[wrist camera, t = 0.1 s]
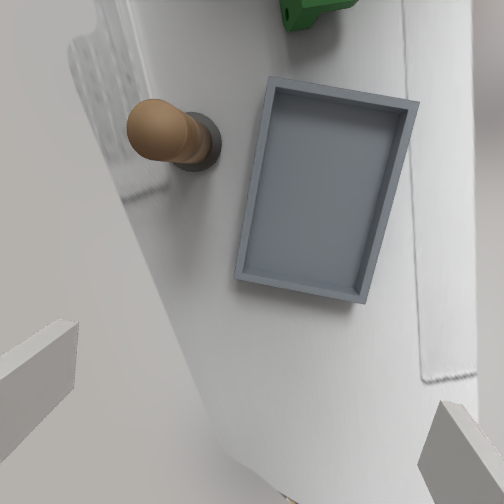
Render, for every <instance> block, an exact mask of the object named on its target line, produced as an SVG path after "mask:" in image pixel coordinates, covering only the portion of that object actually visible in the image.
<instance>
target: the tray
mask: <svg viewBox="0 0 504 504" xmlns="http://www.w3.org/2000/svg"><path fill="white" fill-rule="evenodd" d="M419 103H420V102H418V101H412V100H406V99H400V98H395V97H389V96H383V95H377V94H371V93H366V92H360V91H354V90H348V89H342V88H336V87H331V86H325V85H319V84H313V83H307V82H302V81H296V80H290V79H284V78H278V77H273V76H269V78H268V83H267V89H266V95H265V101H264V106H263V112H262V118H261V124H260V129H259V135H258V141H257V147H256V152H255V158H254V164H253V170H252V175H251V181H250V187H249V192H248V198H247V204H246V210H245V215H244V221H243V227H242V233H241V238H240V244H239V250H238V256H237V261H236V267H235V273H234V279H238V280H243V281H248V282H253V283H258V284H263V285H269V286H274V287H279V288H284V289H289V290H294V291H299V292H304V293H309V294H314V295H319V296H324V297H329V298H334V299H339V300H345V301H350V302H355V303H360V304H365V303H366V300H367V296H368V292H369V289H370V285H371V281H372V278H373V274H374V270H375V266H376V263H377V259H378V255H379V252H380V248H381V244H382V240H383V237H384V233H385V229H386V226H387V222H388V218H389V215H390V211H391V207H392V203H393V200H394V196H395V192H396V189H397V185H398V181H399V177H400V174H401V170H402V166H403V163H404V159H405V155H406V152H407V148H408V144H409V140H410V137H411V133H412V129H413V126H414V122H415V118H416V115H417V111H418V107H419Z"/></svg>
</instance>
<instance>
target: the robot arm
mask: <svg viewBox="0 0 504 504" xmlns="http://www.w3.org/2000/svg"><path fill="white" fill-rule="evenodd" d="M78 327H79V322H75V321H70V320H65V319H61V318H58V319H57V320H55V321H54V322H52V323H50V324H49V325H47V326H46V327H44V328H43V329H41V330H40V331H38V332H37V333H35V334H34V335H32V336H30V337H29V338H27V339H26V340H25V341H23V342H21V343H20V344H18V345H17V346H15V347H14V348H12V349H11V350H9V351H8V352H6V353H4V354H3V355H1V356H0V464H1V463H2V462H3V461H4V460H5V459H6V457H7V456H8V455H9V454H10V453H11V452H12V451H13V450H14V449H15V448H16V447H17V446H18V445H19V444H20V443H21V442H22V441H23V440H24V439H25V438H26V437H27V436H28V435H29V434H30V433H31V432H32V431H33V430H34V429H35V427H36V426H38V424H39V423H40V422H41V421H42V420H43V419H44V418H45V417H46V416H47V415H48V414H49V413H50V412H51V411H52V410H53V409H54V408H55V407H56V406H57V405H58V404H59V403H60V402H61V401H62V400H63V399H64V398H65V396H67V395H68V394H69V393H70V391H71V390H72V389H73V388H74V380H75V366H76V354H77V340H78ZM417 465H418V467H419V470H420V472H421V474H422V476H423V478H424V481H425V483H426V485H427V487H428V489H429V492H430V494H431V496H432V498H433V500H434V503H435V504H504V459H503V457H502V456H501V455H500V454H499V452H498V451H497V449H496V448H495V447H494V445H493V444H492V443H491V442H490V440H489V439H488V438H487V436H486V435H485V434H484V432H483V431H482V430H481V428H480V427H479V426H478V425H477V423H476V422H475V421H474V419H473V418H472V417H471V415H470V414H469V413H468V411H467V410H466V409H465V407H464V406H463V405H461V404H456V403H451V402H447V401H442V400H440V403H439V405H438V408H437V411H436V414H435V417H434V419H433V422H432V425H431V428H430V431H429V433H428V436H427V439H426V442H425V445H424V447H423V450H422V453H421V456H420V459H419V461H418V464H417Z"/></svg>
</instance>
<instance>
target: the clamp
mask: <svg viewBox="0 0 504 504" xmlns="http://www.w3.org/2000/svg"><path fill="white" fill-rule="evenodd" d="M357 1H358V0H280V5H281V11H282V16H283V22H284V26H285V29H286V31H287V32H290V31H296V30H302V29H308V28H310V27H311V26H312V24H313V23H314V22H315V20H316V19H317V17H318V16H319V14H320V13H322V12H328V11H334V10H340V9H346V8H350V7H352V6H354V5H355V4H356V3H357Z"/></svg>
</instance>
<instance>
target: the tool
mask: <svg viewBox="0 0 504 504" xmlns="http://www.w3.org/2000/svg"><path fill="white" fill-rule="evenodd" d="M127 135H128V139H129V142H130V144H131V145H132V147H133V148H134V150H135V151H136V152H137V153H138V154H140V155H141V156H142V157H144V158H146V159H149V160H155V161H165V162H172V163H173V164H174V165H176V166H177V167H179V168H180V169H182V170H185V171H191V172H198V171H202V170H205V169H207V168H209V167H210V166H212V165H213V164H214V163H215V162H216V160H217V159H218V157H219V155H220V152H221V146H222V141H221V135H220V132H219V130H218V128H217V126H216V125H215V124H214V123H213V122H212V121H211V120H210V119H209V118H207V117H206V116H204V115H202V114H200V113H196V112H186V113H184V112H182V111H181V110H179V109H177V108H176V107H174V106H172V105H171V104H169V103H167V102H166V101H163V100H159V99H148V100H145V101H143V102H141V103H139V104H138V105H136V106H135V107H134V109H133V110H132V111H131V113H130V115H129V117H128V121H127Z"/></svg>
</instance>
